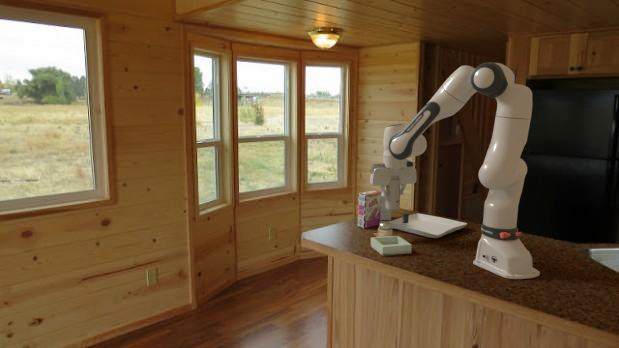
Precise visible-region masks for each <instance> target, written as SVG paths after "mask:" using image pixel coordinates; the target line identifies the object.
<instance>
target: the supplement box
mask: <svg viewBox="0 0 619 348" xmlns="http://www.w3.org/2000/svg"><path fill="white" fill-rule="evenodd" d="M380 221H392V211H388V210H387V209H386V196H383V192H381V211H380Z"/></svg>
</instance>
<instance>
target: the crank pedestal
mask: <svg viewBox="0 0 619 348" xmlns="http://www.w3.org/2000/svg"><path fill="white" fill-rule="evenodd" d="M393 229H394V228H391V229H390V230H383V229H380V228H379V227H378V228H377V232H373V233H372V235H373V234H374V235H373V236H374V237H385V236H393Z"/></svg>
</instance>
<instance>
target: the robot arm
mask: <svg viewBox="0 0 619 348" xmlns="http://www.w3.org/2000/svg"><path fill="white" fill-rule="evenodd" d="M517 82H518V78H517V74H516V72H515V70H514V69H513V68H511V67H510V66H509V65H508V66H507V65H504V64H503V63H501V62H491V61H487V62H483V63H481V64H478V66H477V67H473V66H471V65H461V66H459V67H458V68H457V69H455V71H453V72H452V73H451V74H450V75H449V77H447V78H446V80H445V81H444V82H443V83H442V85H441V86H440V87H439V88H438V89H437V91H436V92H435V93H434V95H433V96H431V98H430V100H428V101H427V102H426V104H425V105H424V106H423V107H422V108H421V109H420V111H419V112H418V113H416V115H415V116H413V118H412V119H411V120H410V122H409V123H408V124H407V125H406V126H405V125H404V124H402V123H398V124H391V125H388V126H386V127H385V129H384V132H383V143H382V145H383V146H382V147H383V155H382V162H381V163H373V164H372V165H371V166H370V177H369V183H370V185H372V186H373V187H378V186H379V188H380V189H381V191H382V193H383V196H386V195H387V191H386V185H389V184H390V179H391V177H396V176H399V178H400V180H401V182H400V184H401V185H400V196H401V195H404V191H405V189H406V187H407V185H410V184H411V185H412V184H413V185H414V184H415V183H417V179H418V178H417V169H416V168H415V167H416V162H415V161H412V160H409V158H414V157H418V156H421V155H422V154H424V153H425V152H426V150H427V148H428V141H427V138H426V136H424V135H423V133H424V132H426V130H427V129H428V128H429V127H430V126H432V125H433V124H434V123H436V122H438V121H441V120H442V119H443V120H444V119H445V118H446V119H447V118H448V117H451V116H454V115H455V114H456V113H458V112H459V111H460V110H461V109H462V108H463V107H464V106H465V105H466V104H467V102H468V101H469V100H470V99H471V98H472V96H473V95H474V94H475V93H479V94H481V95H482V96H483V95H484V96H487V97H489V98H491V99H495V100H496V103H497V104H496V105H497V106H496V112H495V117H494V118H495V119H494V124H493V129H492V130H493V131H492V136H491V140H490V143H489V146H488V149H487V151H486V154H485V158H484V160H483V163H482V165H481V167H480V168H479V171H478V179H479V181H480V183H481V185H482V186H484V187H485V188H486V189H489V190H488V193H487V196H486V199H485V201H484V203H483V204H484V205H483V206H484V207H483V218H482V219H483V221H482V223H481V226H480V233H481V237H480V239H479V241H478V243H477V249H476V255H475V259H473V263H472V265H475V266H477V267H479V268H481V269H484V270H487V271H488V272H491V273H493V274H495V275H496V276H500V277H502V278H505V279H510V280H524V279H527V280H528V279H533V278H537V277H539V276H540V274H541V271H539V270H538V269H536V267H533V256H532V254H531V253H530V251H529V250H528V249H527V248H526V247H525V245H524V244H523V243H522V241H521V240H520V235H521V234H522V231H519V228H518V226H517V223H518V212H519V204H520V199H521V195H522V193H523V188H524V183H525V178H526V175H527V173H528V166H527V163H526V161H524V159H523V158H521V155H522V153H523V150H524V147H525V145H526V144H527V142H528V136H529V131H530V124H531V120H532V114H533V113H532V112H533V92H532V90H531V89H530V87H528V86H526V85H524V84H518V83H517Z"/></svg>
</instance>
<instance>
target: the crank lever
mask: <svg viewBox="0 0 619 348" xmlns="http://www.w3.org/2000/svg"><path fill="white" fill-rule="evenodd" d="M401 215H402V217H403V222H390V221H380V223H379V225H378V228H380V229H383V230H390V229H391V228H392V229H394V228H406V223H408V220H409V215H410V213H409V212H402V214H401ZM389 222H390V223H389Z"/></svg>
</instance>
